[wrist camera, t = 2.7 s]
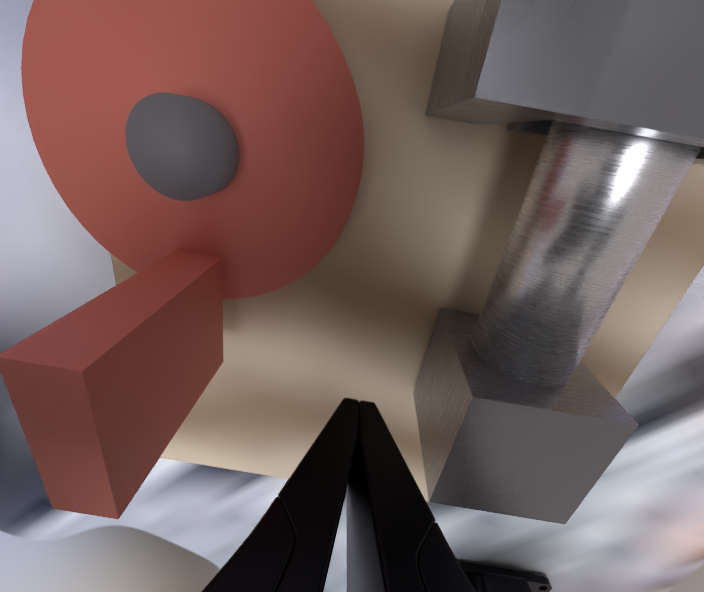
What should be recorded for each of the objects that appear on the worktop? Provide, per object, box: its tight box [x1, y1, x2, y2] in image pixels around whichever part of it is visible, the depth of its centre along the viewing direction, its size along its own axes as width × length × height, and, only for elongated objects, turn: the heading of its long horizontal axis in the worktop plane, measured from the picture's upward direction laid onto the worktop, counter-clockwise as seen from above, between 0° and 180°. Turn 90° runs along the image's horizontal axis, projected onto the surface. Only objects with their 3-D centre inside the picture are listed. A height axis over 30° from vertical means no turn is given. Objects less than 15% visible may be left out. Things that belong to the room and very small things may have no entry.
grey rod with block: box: [413, 120, 702, 524], centre depth 8 cm, size 15×4×4 cm, turn 171°
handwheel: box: [0, 0, 364, 519], centre depth 8 cm, size 12×9×7 cm
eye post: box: [425, 0, 704, 165], centre depth 7 cm, size 2×8×5 cm, turn 81°
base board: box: [111, 0, 704, 514], centre depth 13 cm, size 20×20×1 cm
